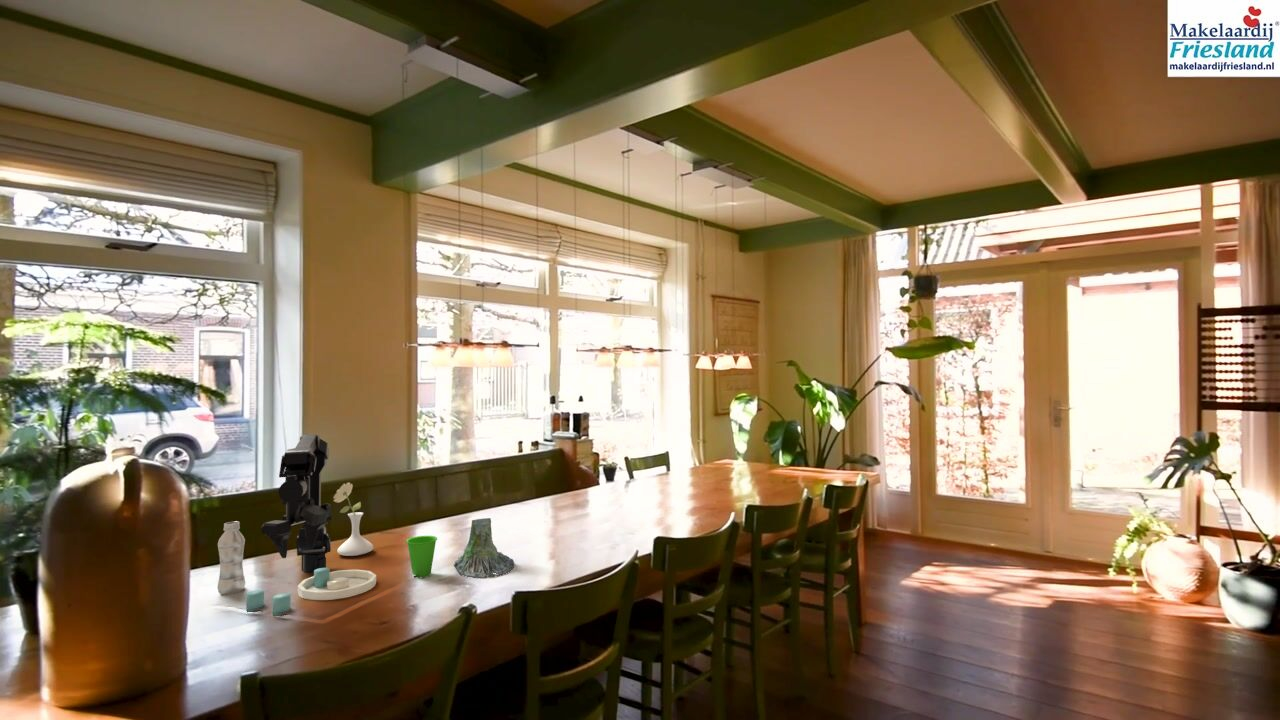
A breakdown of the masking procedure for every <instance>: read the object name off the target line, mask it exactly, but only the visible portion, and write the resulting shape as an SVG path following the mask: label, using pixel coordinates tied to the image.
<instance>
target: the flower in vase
mask: <svg viewBox="0 0 1280 720" xmlns="http://www.w3.org/2000/svg"><path fill="white" fill-rule="evenodd" d="M353 487H354V486H353V483H351V482H346V483H343V484H342V485H341V486H340V487H339V489H337V490H336V493H335V494H334V495H333V497H332V498H333V502H335V503H337V504H338V503H341V502H343V501H345V500H346V499H347V502H348V505H345V506H344V507H342V509H340V511H339V513H340V514H342V513H343V514H345V513H347V512H348V511H349V510H350V509H351V511H352V512H350V513H347V516H348V517H349V518H350V519H349V520H350V522H351V535H350V536H349V538H348V539H346V541H344V542H343V543H342V544H341V545H340V546H339V547H338V548H337V554H339V555H341V556H345V557H354V556H355V557H357V556H361V555H365V554H367V553H370V552H371V551H372V550H373V549H374V545H373V543H371V542H370V541H369V540H367V539H366V538H365V537H363V536H362V535H361V534H360V523H361V519H362V517H363V516H364V512H357V511H358V510H360V509H361V507H362V502H361V501H359V502H357V503H355V504H354V505H353V506H352V505H351V501H350V499H349V496H350V494H351V493H352V490H353ZM355 511H356V512H355Z"/></svg>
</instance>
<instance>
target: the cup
mask: <svg viewBox="0 0 1280 720" xmlns="http://www.w3.org/2000/svg"><path fill="white" fill-rule="evenodd" d="M437 540H438V536H437V537H436V536H434V535H418V536H414V537H412V536H411V537H410V538H408V539H406V541H405V542H406V543H407V547H408V554H409V560H410V566H411V572H412V574H413V578H415V577H418V578H417V579H421V578H420V577H424V578H427V577H426V576H428V577H430V576H431V573H432V567H433V561H434V555H435V550H436V543H437Z"/></svg>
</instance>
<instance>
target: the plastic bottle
mask: <svg viewBox="0 0 1280 720" xmlns="http://www.w3.org/2000/svg"><path fill="white" fill-rule="evenodd" d="M240 529H241V527H240V521H237V520H236V521H229V522H225V523H223V531H224V532H223V533H222V534H221V536H220V537H219V539H218V542H217V549H218V555H219V577H218V582H217V590H218V591H217V592H218V593H219V595H221V596H224V595H232V594H236V593H239V592H240V593H241V592H242V591H244V589H245V587H246V579H245V575H244V574H245V573H244V565H243V560H244V549H245V542H246V538H245V537H244V535H243V534H242V532H241V531H240Z"/></svg>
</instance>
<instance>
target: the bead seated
mask: <svg viewBox="0 0 1280 720" xmlns="http://www.w3.org/2000/svg"><path fill="white" fill-rule="evenodd" d="M330 572H331V570H330V568H329V567H326V568H319V569H316V570H314V572H313V576H314V587H315V588H322V587H326V586H327V581H328V580H330Z"/></svg>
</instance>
